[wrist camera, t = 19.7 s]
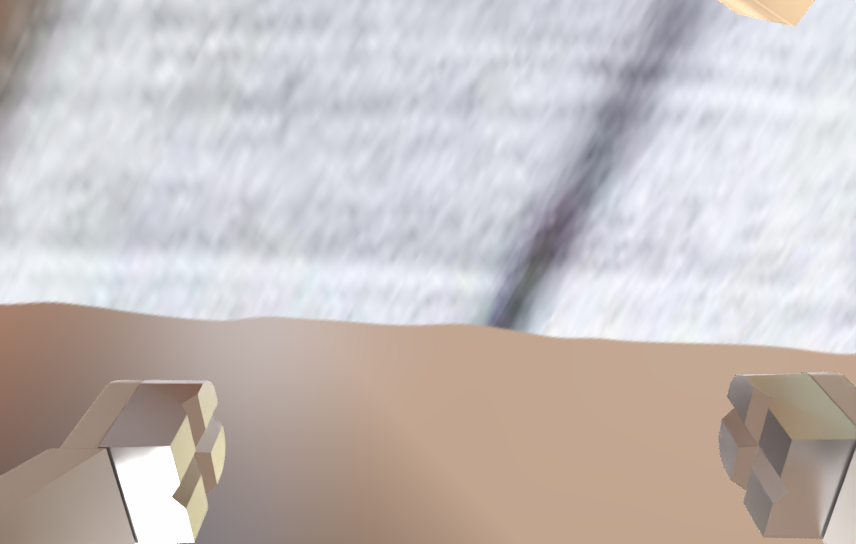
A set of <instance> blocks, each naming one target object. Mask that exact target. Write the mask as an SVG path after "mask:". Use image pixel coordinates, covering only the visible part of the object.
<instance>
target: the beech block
mask: <svg viewBox="0 0 856 544" xmlns="http://www.w3.org/2000/svg"><path fill="white" fill-rule="evenodd" d="M718 1H719V2H721V3H722V4H724V5H725V6H727V7H728V8H730V9H731V10H733V11H734V12H736V13H737V14H740V15H745V16H749V17H754V18H758V19H763V20H767V21H772V22H776V23H781V24H785V25H790V26H794V27H795V26H796V24H797V23H798V22H799V21H800V19H801V18H802V17H803V15H804V14H805V13H806V11H807V10H808V9H809V7H810V6H811V5H812V3H813V2H814V1H815V0H718Z"/></svg>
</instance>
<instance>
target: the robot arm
mask: <svg viewBox="0 0 856 544" xmlns="http://www.w3.org/2000/svg"><path fill="white" fill-rule="evenodd" d="M727 397H728V399H729V401H730V402H731V404H732V405H733V407H734V409H733V410H731V411H730V412H729V413H728V414H727V415H726V416H725V417H724V418H723V419H722V420H721V426H720V432H719V450H720V457H721V460H722V463H723V466H724V468H725V470H726V472H727V474H728V476H729V478H730V480H731V481H733V482H735V483H736V484H737V485H739V486H741V487H742V488H743V489H745V490H746V493H745V497H744V501H743V502H744V505H745V506H746V508H747V510H748V512H749V513H750V515H751V517H752V519H753V521H754V522H755V524H756V526H757V528H758V529H759V531H760V533H761V535H762V536H763V538H812V539H813V538H815V539H823V542H824V543H825V544H856V387H855V386H854V385H853V384H852V383H851V382H850V381H849V380H848V379H847V378H846V377H845V376H844V375H842V374H840V373H838V372H835V371H831V372H830V371H829V372H806V373H801V374H760V375H735V377H734V378H733V380H732V381H731V383H730V387H729V390H728V395H727ZM217 404H218V400H217V396H216V392H215V388H214V385H213V384H212V383H211V382H210V381H209V380H207V381H206V380H146V381H145V380H116V381H113V382H110V383H108V384H107V385H106V387H105V388H104V389H103V391H102V392H101V393H100V395H99V396H98V397H97V399H96V400H95V401H94V403H93V404H92V405H91V407H90V408H89V410H88V411H87V412H86V413H85V415H84V416H83V417H82V419H81V420H80V421H79V423H78V424H77V425H76V427H75V428H74V429H73V431H72V432H71V434H70V435H69V436H68V438H67V439H66V440H65V442H64V443H63V444H62V446H61V447H60V448H59V449H48V450H46V451H44V452H42V453H41V454H39V455H37V456H35V457H34V458H32V459H30V460H28V461H26V462H25V463H23V464H21V465H19V466H17V467H16V468H14V469H12V470H11V471H8V472H7V473H5V474H3V475H2V476H0V544H162V543H190V542H195V539H196V537H197V534H198V532H199V529H200V527H201V524H202V522H203V519H204V517H205V514H206V512H207V509H208V503H207V499H206V493H207V492H209V491H210V490H211V489H213V488H214V487H215V486H217V484H218V481H219V479H220V476H221V474H222V471H223V465H224V458H225V435H224V430H223V425H222V424H221V423H220V422H219V421H218V420H217V419H216V418H215V417H213V416H212V414H213V412H214V410H215V408H216V406H217Z"/></svg>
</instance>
